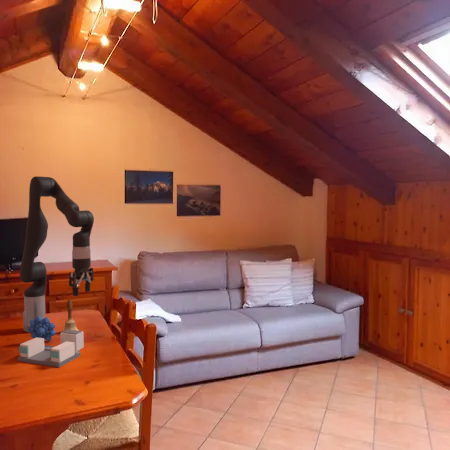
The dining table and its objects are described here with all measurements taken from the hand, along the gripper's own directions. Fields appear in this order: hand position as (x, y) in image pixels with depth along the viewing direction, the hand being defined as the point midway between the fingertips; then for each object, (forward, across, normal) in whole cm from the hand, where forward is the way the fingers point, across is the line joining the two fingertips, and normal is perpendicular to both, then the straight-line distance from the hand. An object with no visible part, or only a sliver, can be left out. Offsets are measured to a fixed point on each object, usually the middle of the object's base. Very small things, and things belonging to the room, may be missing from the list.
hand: (81, 293), depth 191 cm
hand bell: (+24, -15, -17) cm, 32 cm away
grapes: (+24, +2, -19) cm, 31 cm away
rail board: (+23, +17, -4) cm, 29 cm away
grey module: (+23, +4, -2) cm, 24 cm away
